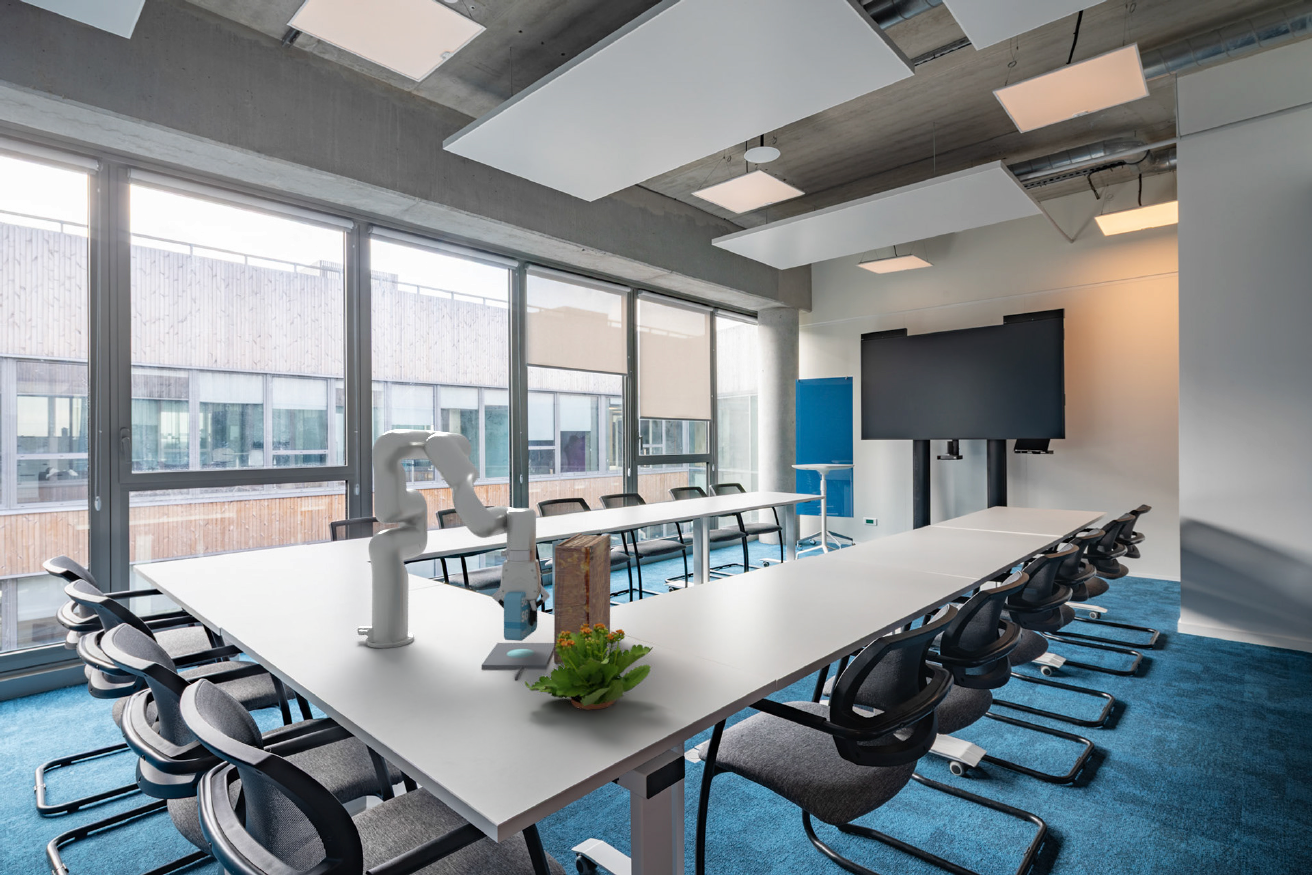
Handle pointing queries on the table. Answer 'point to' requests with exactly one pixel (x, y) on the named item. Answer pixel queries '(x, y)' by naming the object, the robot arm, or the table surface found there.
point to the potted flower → (593, 668)
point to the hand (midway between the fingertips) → (521, 623)
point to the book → (581, 584)
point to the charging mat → (519, 656)
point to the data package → (517, 616)
